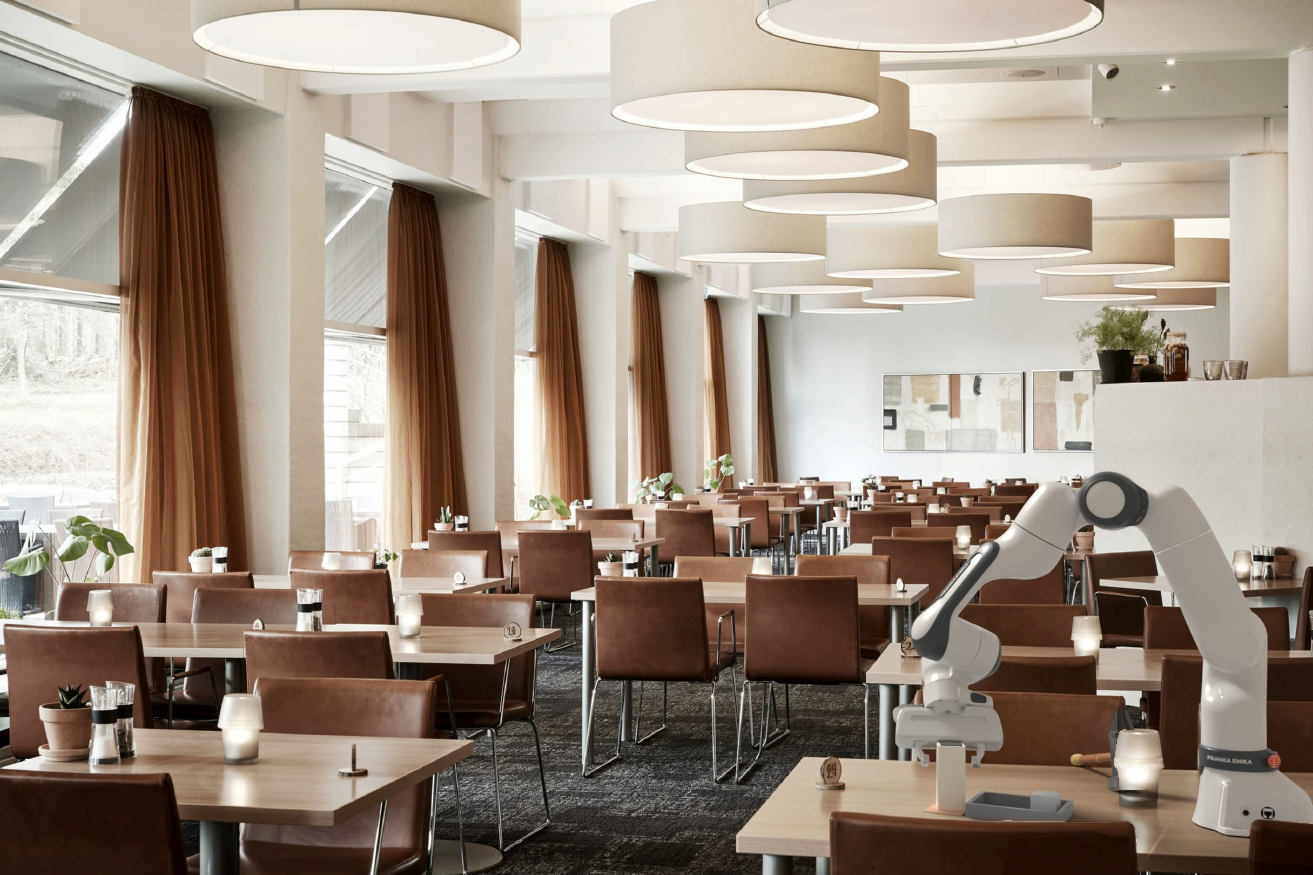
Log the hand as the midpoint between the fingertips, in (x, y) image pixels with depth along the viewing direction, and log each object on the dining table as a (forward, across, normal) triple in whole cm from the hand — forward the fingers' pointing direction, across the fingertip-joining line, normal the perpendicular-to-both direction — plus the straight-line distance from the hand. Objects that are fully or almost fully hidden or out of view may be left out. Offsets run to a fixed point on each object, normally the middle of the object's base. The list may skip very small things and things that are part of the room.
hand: (950, 765), depth 263 cm
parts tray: (+9, +12, +3) cm, 15 cm away
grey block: (+10, +17, +2) cm, 19 cm away
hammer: (-19, +34, +31) cm, 50 cm away
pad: (+6, 0, +6) cm, 8 cm away
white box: (+5, 0, +6) cm, 8 cm away
